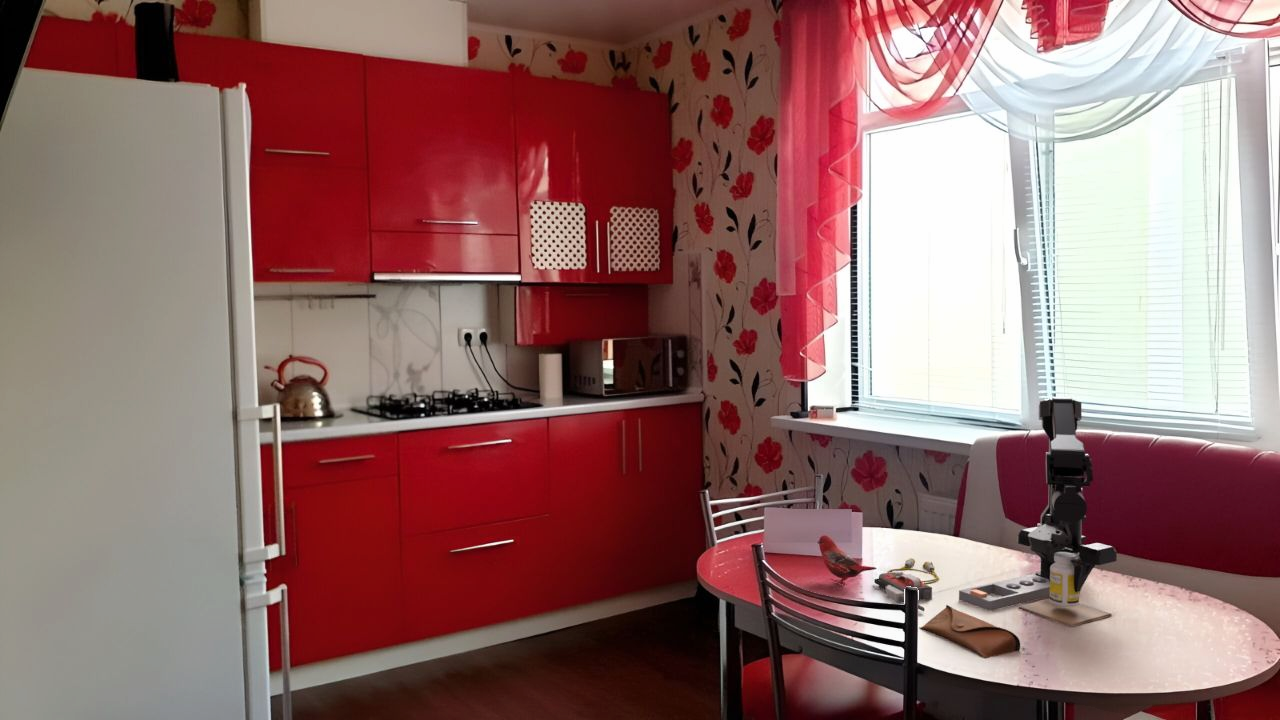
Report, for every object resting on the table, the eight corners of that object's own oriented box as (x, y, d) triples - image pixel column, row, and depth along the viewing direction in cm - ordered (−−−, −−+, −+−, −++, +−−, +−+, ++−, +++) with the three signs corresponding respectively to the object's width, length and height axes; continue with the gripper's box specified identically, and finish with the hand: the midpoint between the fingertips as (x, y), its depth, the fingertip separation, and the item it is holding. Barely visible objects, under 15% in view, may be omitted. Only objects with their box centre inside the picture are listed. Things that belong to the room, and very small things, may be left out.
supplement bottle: (1079, 600, 191) (1080, 552, 191) (1078, 609, 187) (1080, 559, 186) (1049, 596, 194) (1050, 549, 193) (1048, 605, 189) (1050, 556, 188)
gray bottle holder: (1031, 582, 209) (1031, 571, 209) (1063, 593, 202) (1063, 580, 202) (958, 599, 199) (959, 587, 198) (989, 611, 192) (989, 598, 191)
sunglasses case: (914, 627, 183) (928, 595, 184) (938, 639, 186) (951, 608, 187) (987, 659, 167) (1001, 624, 168) (1011, 672, 170) (1025, 637, 171)
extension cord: (958, 575, 217) (958, 567, 217) (918, 590, 207) (918, 581, 207) (912, 564, 226) (912, 556, 226) (871, 578, 216) (871, 569, 216)
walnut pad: (1058, 598, 198) (1058, 596, 198) (1111, 615, 188) (1111, 613, 188) (1018, 608, 193) (1018, 606, 193) (1070, 626, 182) (1070, 624, 182)
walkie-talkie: (865, 587, 209) (918, 617, 190) (865, 567, 209) (918, 595, 190) (900, 583, 212) (956, 612, 193) (900, 563, 211) (956, 590, 192)
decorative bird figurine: (821, 575, 217) (821, 532, 216) (881, 595, 202) (881, 549, 201) (812, 577, 215) (812, 534, 215) (871, 598, 201) (871, 551, 200)
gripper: (999, 506, 193) (998, 581, 194) (1080, 526, 177) (1078, 608, 178) (1037, 499, 198) (1035, 573, 200) (1119, 518, 182) (1117, 598, 183)
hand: (1064, 587), depth 190 cm, fingers closed on supplement bottle, 5 cm apart
